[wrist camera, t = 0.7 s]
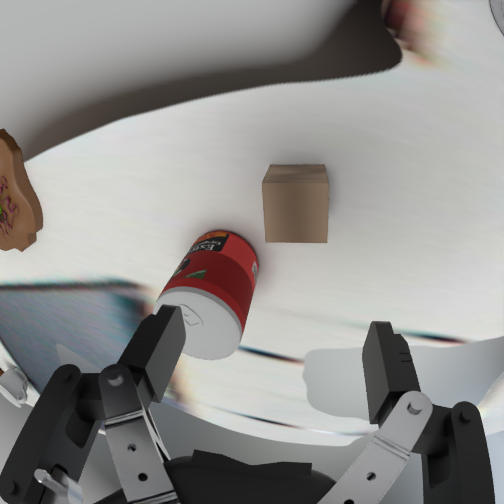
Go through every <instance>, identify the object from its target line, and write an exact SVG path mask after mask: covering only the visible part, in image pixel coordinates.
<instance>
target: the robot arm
mask: <svg viewBox="0 0 504 504" xmlns="http://www.w3.org/2000/svg"><path fill="white" fill-rule="evenodd" d="M490 5H491V8H492V12H493V15H494V17H495V20H496V22H497V24H498V26H499V27H500V29H501V31H502V32H503V34H504V0H490ZM185 341H186V330H185V325H184V320H183V315H182V310H181V307H180V306H175V305H167V304H162V305H161V307H160V308H159V310H158V312H157V314H156V315H154V314H150V315H149V316H148V317H146V318H145V319H144V320H143V321H142V322H141V323H140V325H139V327H138V328H137V331H136V332H135V333H134V335H133V338H131V340H130V342H129V343H128V345H127V347H126V348H125V350H124V352H123V354H122V355H121V357H120V359H119V360H118V362H117V364H111V365H109V366H107V367H105V368H104V369H103V370H102V371H101V372H100V373H81V371H80V369H79V368H78V367H77V366H75V365H72V364H66V365H63V366H61V367H59V368H58V369H57V370H56V371H55V372H54V373H53V375H52V377H51V378H50V380H49V382H48V383H47V385H46V387H45V388H44V390H43V392H42V394H41V395H40V397H39V399H38V401H37V402H36V404H35V406H34V408H33V410H32V412H31V413H30V415H29V417H28V419H27V421H26V423H25V425H24V427H23V428H22V431H21V432H20V434H19V436H18V438H17V440H16V442H15V445H14V446H13V448H12V451H11V453H10V455H9V457H8V459H7V461H6V463H5V466H4V468H3V470H2V472H1V475H0V496H1V498H2V499H3V500H4V501H5V502H7V503H8V504H81V503H82V501H83V497H82V489H81V487H80V485H79V484H78V481H79V478H80V476H81V473H82V470H83V468H84V465H85V462H86V460H87V457H88V455H89V452H90V450H91V447H92V445H93V442H94V440H95V437H96V435H97V433H98V430H99V428H100V425H101V423H102V421H103V420H107V421H106V422H104V428H105V432H106V436H107V440H108V443H109V447H110V450H111V454H112V457H113V460H114V464H115V467H116V470H117V473H118V476H119V479H120V482H121V485H122V489H120V490H118V491H116V492H115V493H113V494H111V495H109V496H107V497H105V498H103V499H102V500H100V501H98V502H96V503H94V504H378V503H379V502H380V501H381V499H382V498H383V497H384V495H385V494H386V493H387V491H388V490H389V488H390V487H391V485H392V484H393V482H394V481H395V480H396V478H397V477H398V475H399V474H400V472H401V471H402V469H403V468H404V466H405V464H406V463H407V461H408V459H409V453H410V452H413V453H419V454H421V458H422V471H423V496H424V504H495V494H494V485H493V478H492V471H491V464H490V458H489V453H488V448H487V442H486V437H485V433H484V428H483V424H482V420H481V416H480V412H479V410H478V409H477V407H476V406H475V405H473V404H472V403H470V402H466V401H463V402H459V403H457V404H456V405H455V406H454V407H453V408H447V407H442V406H437V405H434V404H432V402H431V400H430V399H429V398H428V397H427V396H426V395H425V394H424V393H421V390H420V386H419V382H418V378H417V374H416V371H415V367H414V364H413V362H412V361H413V360H412V357H411V354H410V350H409V346H408V343H407V342H406V340H405V339H404V338H403V337H402V335H401V334H394V333H393V329H392V326H391V323H390V322H385V321H372V323H371V325H370V328H369V331H368V334H367V338H366V341H365V344H364V347H363V353H362V361H363V368H364V376H365V383H366V392H367V400H368V409H369V418H370V424H378V425H379V431H378V432H377V434H376V435H375V436H374V437H373V439H372V440H371V441H370V443H369V444H368V445H367V447H366V448H365V449H364V451H363V452H362V453H361V454H360V456H359V457H358V458H357V459H356V461H355V462H354V463H353V464H352V466H351V467H350V468H349V469H348V470H347V471H346V473H345V474H344V475H343V476H342V477H341V478H340V480H339V481H338V482H336V481H335V480H333V479H332V478H330V477H329V476H327V475H325V474H323V473H321V472H318V471H315V470H312V469H311V468H312V463H298V462H277V463H269V464H261V465H248V464H245V463H243V462H240V461H237V460H235V459H232V458H230V457H227V456H224V455H222V454H216V453H210V452H205V451H200V450H194V453H193V455H192V456H184V457H179V458H174V459H172V460H171V459H170V457H169V455H168V453H167V451H166V449H165V447H164V445H163V443H162V441H161V438H160V436H159V434H158V431H157V429H156V426H155V423H154V421H153V419H152V416H151V413H150V410H149V405H150V403H151V401H153V402H157V403H160V402H161V400H162V397H163V395H164V392H165V390H166V388H167V385H168V383H169V380H170V378H171V376H172V373H173V371H174V368H175V366H176V364H177V361H178V359H179V357H180V354H181V352H182V350H183V347H184V345H185Z"/></svg>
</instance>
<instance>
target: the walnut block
mask: <svg viewBox="0 0 504 504" xmlns="http://www.w3.org/2000/svg"><path fill="white" fill-rule="evenodd" d="M262 193H263V209H264V224H265V240H266V242H286V243H327V235H328V205H329V182H328V178H327V174H326V170H325V166H324V165H270V167H269V169H268V171H267V173H266V175H265V177H264V180H263V182H262Z"/></svg>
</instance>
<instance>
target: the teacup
mask: <svg viewBox="0 0 504 504" xmlns="http://www.w3.org/2000/svg"><path fill="white" fill-rule="evenodd" d="M27 380H28V379H27V377H26V376H25V374H24V373H23V372H22V371H20V370H19V369H18V368H15V369H14V370H11V369H9V370H7V371H6V372H4V373H3V374H2V376H1V377H0V392H1V393H2V394H3V395H4V396H5V397H6V398H7V399H8V400H9V401H10V402H12V403H13V404H14V405H16V406H17V407H21V404H23V403H25V402H26V400H27V393H26V391H27V383H26V381H27Z"/></svg>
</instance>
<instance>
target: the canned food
mask: <svg viewBox="0 0 504 504" xmlns="http://www.w3.org/2000/svg"><path fill="white" fill-rule="evenodd" d="M258 272H259V270H258V262H257V258H256V255H255V253H254V250H253V249H252V248H251V246H250V245H249V244H248V243H247V242H246V241H245V240H244V239H242V238H241V237H240V236H238V235H236V234H233V233H230V232H227V231H214V232H210V233H207V234H205V235H203V236H202V237H200V238H199V239H198V240H197V241H196V242H195V243H194V244H193V246H192V247H191V249H190V250H189V251H188V253H187V254H186V256H185V257H184V259H183V260H182V262H181V263H180V265H179V266H178V268H177V269H176V271H175V272H174V274H173V275H172V277H171V278H170V280H169V281H168V283H167V284H166V286H165V287H164V289H163V291H162V293H161V294H160V296H159V297H158V299H157V301H156V304H155V306H154V309H153V314H154V315H156V314H157V312H158V310H159V308H160V307H161V305H162V304H167V305H175V306H180V307H181V310H182V315H183V320H184V325H185V330H186V341H185V345H184V347H183V350H182V353H184V354H187V355H189V356H192V357H195V358H199V359H204V360H218V359H222V358H226V357H228V356H230V355H231V354H233V353H234V352H235V351H236V349H237V348H238V346H239V343H240V341H241V338H242V335H243V332H244V328H245V324H246V320H247V316H248V312H249V308H250V304H251V300H252V296H253V292H254V288H255V284H256V280H257V276H258Z"/></svg>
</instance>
